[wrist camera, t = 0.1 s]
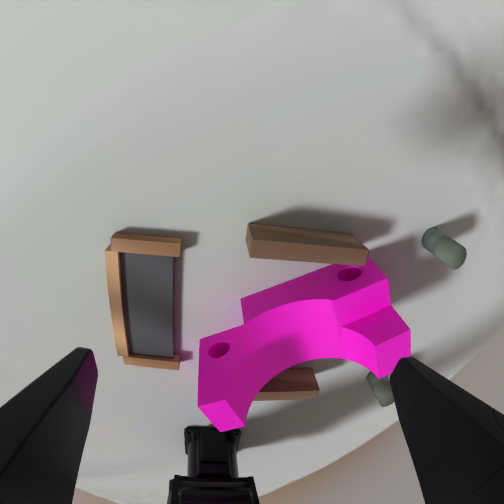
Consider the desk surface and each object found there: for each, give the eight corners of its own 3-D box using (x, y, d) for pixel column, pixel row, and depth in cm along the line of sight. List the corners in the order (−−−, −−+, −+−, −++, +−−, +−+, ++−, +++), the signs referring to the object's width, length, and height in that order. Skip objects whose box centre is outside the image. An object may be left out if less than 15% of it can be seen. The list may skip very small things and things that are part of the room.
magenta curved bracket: (361, 250, 24) (409, 301, 17) (372, 309, 26) (410, 363, 19) (186, 315, 24) (179, 384, 18) (217, 365, 27) (220, 432, 20)
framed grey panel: (379, 379, 31) (392, 405, 27) (125, 377, 27) (117, 408, 23) (441, 229, 23) (469, 247, 20) (107, 192, 19) (85, 208, 16)
